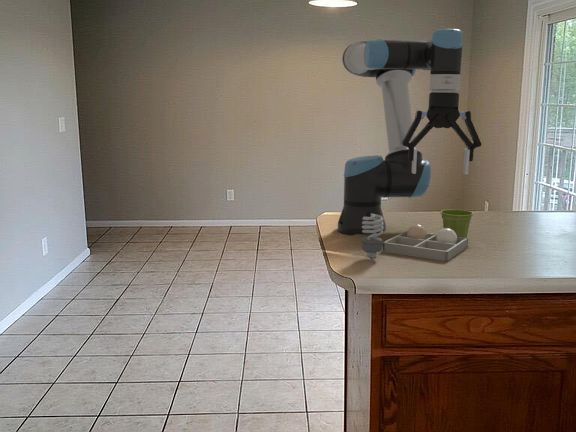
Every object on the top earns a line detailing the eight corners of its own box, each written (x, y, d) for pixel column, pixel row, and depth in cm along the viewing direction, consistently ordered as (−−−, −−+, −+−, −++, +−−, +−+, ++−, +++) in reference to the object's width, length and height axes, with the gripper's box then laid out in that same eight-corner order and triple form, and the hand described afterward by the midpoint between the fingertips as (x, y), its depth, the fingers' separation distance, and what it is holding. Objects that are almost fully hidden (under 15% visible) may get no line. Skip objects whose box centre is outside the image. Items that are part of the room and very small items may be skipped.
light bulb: (377, 263, 153) (378, 216, 150) (357, 259, 156) (358, 214, 153) (385, 258, 157) (387, 213, 155) (366, 255, 160) (367, 211, 158)
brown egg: (403, 244, 169) (404, 225, 168) (410, 240, 174) (411, 221, 173) (422, 247, 166) (423, 227, 165) (429, 243, 171) (430, 224, 170)
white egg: (432, 248, 165) (433, 228, 164) (439, 244, 169) (440, 225, 168) (452, 251, 162) (454, 231, 161) (459, 247, 166) (460, 227, 165)
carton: (382, 253, 162) (382, 242, 161) (407, 240, 176) (407, 230, 176) (446, 263, 152) (447, 251, 152) (467, 249, 167) (468, 238, 166)
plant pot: (433, 241, 176) (434, 212, 174) (447, 235, 183) (448, 207, 181) (463, 246, 170) (465, 216, 168) (476, 240, 177) (478, 211, 175)
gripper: (397, 91, 151) (393, 174, 156) (497, 92, 150) (491, 175, 154) (393, 91, 159) (390, 170, 163) (489, 92, 158) (483, 172, 162)
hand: (439, 173), depth 159 cm, fingers open, 13 cm apart
